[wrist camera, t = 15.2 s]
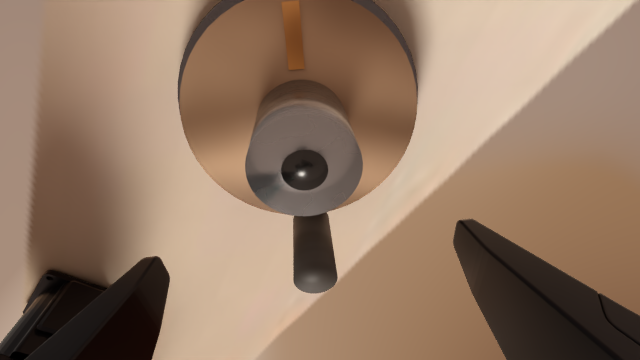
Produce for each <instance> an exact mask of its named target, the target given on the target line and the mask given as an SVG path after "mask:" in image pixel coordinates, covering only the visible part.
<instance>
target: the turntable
mask: <svg viewBox="0 0 640 360" xmlns="http://www.w3.org/2000/svg"><path fill="white" fill-rule="evenodd" d="M300 79H304V80H311V81H315V82H318V83H321V84H323V85H325V86H326V87H328V88H329V89H331V90H332V91H333V92H334V93H335V94H336V95H337V97H338V98H339V99H340V101H341V103H342V105H343V107H344V110H345V112H346V115H347V117H348V120H349V122H350V125H351V127H352V130H353V133H354V135H355V138H356V140H357V143H358V145H359V148H360V150H361V154H362V160H363V171H362V176H361V179H360V182H359V184H358V186H357V188H356V189H355V191H354V192H353V194H352V195H351V196H350V197H349V198H348V199H347V200H346V201H345V202H344V203H342V204H341V205H339V206H338V207H336V208H334V209H332V210H335V209H338V208H341V207H343V206H346V205H348V204H351V203H353V202H355V201H357V200H359V199H360V198H362V197H363V196H365V195H367V194H368V193H370V192H371V191H372V190H374V189H375V188H376V187H377V186H379V185H380V184H381V183H382V182H383V181H384V180H385V179H386V178H387V177H388V176H389V175H390V173H391V172H392V171H393V170H394V168H395V167H396V166H397V164H398V163H399V161H400V160H401V158H402V156H403V155H404V153H405V151H406V149H407V146H408V144H409V142H410V139H411V136H412V133H413V130H414V125H415V120H416V114H417V92H416V84H415V79H414V75H413V71H412V68H411V65H410V63H409V60H408V57H407V55H406V53H405V51H404V50H403V48H402V46H401V44H400V43H399V41H398V40H397V38H396V37H395V36H394V34H393V33H392V32H391V31H390V29H389V28H388V27H387V26H386V25H385V24H384V23H383V22H382V21H381V20H380V19H379V18H378V17H377V16H375V15H374V14H373V13H371V12H370V11H368V10H367V9H365V8H364V7H363V6H361V5H359V4H357V3H355V2H353V1H351V0H244V1H242V2H240V3H238V4H236V5H234V6H233V7H232V8H230V9H229V10H227V11H226V12H224V13H223V14H222V15H220V16H219V17H218V18H217V19H216V20H215V21H214V22H213V23H212V24H211V25H210V26H209V27H208V28H207V29H206V30H205V32H204V33H203V34H202V36H201V37H200V38H199V40H198V41H197V42H196V44H195V46H194V48H193V50H192V52H191V54H190V56H189V58H188V61H187V63H186V66H185V69H184V72H183V77H182V82H181V87H180V113H181V121H182V125H183V129H184V133H185V136H186V138H187V141H188V143H189V146H190V148H191V150H192V152H193V154H194V155H195V157H196V159H197V161H198V162H199V163H200V165H201V166H202V168H203V169H204V170H205V172H206V173H207V174H208V175H209V176H210V177H211V178H212V179H213V180H214V181H215V182H216V183H217V184H218V185H219V186H221V187H222V188H223V189H224V190H225V191H227V192H228V193H230V194H231V195H233V196H234V197H236V198H238V199H240V200H242V201H243V202H245V203H247V204H250V205H252V206H255V207H257V208H260V209H264V210H267V211H271V212H276V213H281V212H278V211H276V210H274V209H272V208H270V207H269V206H267V205H265V204H264V203H263V202H262V201H261V200H260V199H259V198H258V197H257V196H256V195H255V194H254V192H253V191H252V189H251V187H250V186H249V183H248V181H247V178H246V172H245V161H246V155H247V151H248V147H249V144H250V140H251V136H252V132H253V128H254V124H255V121H256V117H257V113H258V109H259V107H260V104H261V102H262V101H263V99H264V97H265V96H266V95H267V94H268V93H269V92H270V91H271V90H272V89H274V88H275V87H277V86H278V85H280V84H282V83H285V82H288V81H291V80H300ZM330 211H331V210H330ZM282 214H284V213H282ZM293 247H294V284H295V286H296V287H297V288H298V289H299V290H301V291H303V292H307V293H321V292H325V291H327V290H329V289H330V288H332V287H333V286H334V285H335V283H336V282H337V271H336V264H335V258H334V251H333V244H332V238H331V231H330V224H329V218H328V214H327V213H326V212H325V213H322V214H318V215H313V216H294V219H293Z"/></svg>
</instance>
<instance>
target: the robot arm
mask: <svg viewBox="0 0 640 360" xmlns="http://www.w3.org/2000/svg"><path fill="white" fill-rule="evenodd" d="M453 244H454V248H455V251H456V253H457V256H458V258H459V261H460V263H461V266H462V268H463V271H464V274H465V276H466V279H467V282H468V284H469V287H470V289H471V291H472V294H473V296H474V298H475V300H476V302H477V303H478V306H479V307H480V309H481V311H482V313H483V315H484V317H485V319H486V321H487V323H488V325H489V327H490V329H491V331H492V332H493V334H494V336H495V338H496V340H497V342H498V344H499V346H500V348H501V350H502V352H503V354H504V355H505V357H506V359H507V360H640V316H639V315H638V314H636V313H634V312H632V311H630V310H629V309H627V308H625V307H623V306H622V305H619V304H618V303H616V302H614V301H613V300H611V299H609V298H608V297H606V296H604V295H602V294H601V293H600V294H598V293H597V291H595V290H594V289H592V288H590V287H589V286H587V285H585V284H583V283H582V282H580V281H578V280H577V279H575V278H573V277H571V276H569V275H568V274H566V273H565V272H563V271H561V270H559V269H558V268H556V267H554V266H552V265H551V264H549V263H547V262H546V261H544V260H542V259H541V258H539V257H537V256H535V255H534V254H532V253H530V252H529V251H527V250H525V249H523V248H522V247H520V246H518V245H516V244H515V243H513V242H511V241H510V240H508V239H506V238H504V237H503V236H501V235H499V234H498V233H496V232H494V231H492V230H491V229H489V228H487V227H486V226H484V225H482V224H480V223H479V222H477V221H475V220H473V219H463V220H459V221H458V222H457V224H456V228H455V234H454V239H453ZM169 282H170V277H169V273H168V271H167V270H166V268H165V266H164V264H163V262H162V260H161V259H160V258H159V257H157V256H154V257H146V258H143V259H142V260H140V261H139V262H138V263H137V264H136V265H135V266H133V267H132V268H131V269H130V270H129V271H128V272H126V273H125V274H124V275H123V276H122V277H121V278H119V279H118V280H117V281H116V282H115V283H114V284H112V285H111V286H110V287H109V288H108V289H104V288H101V287H99V286H96V285H93V284H90V283H87V282H85V281H82V280H79V279H76V278H73V277H70V276H68V275H65V274H62V273H59V272H56V271H53V270H48V271H46V273H45V274H44V275H43V276H42V278H41V280H40V282H39V283H38V285H37V287H36V289H35V291H34V293H33V294H32V296H31V298H30V300H29V302H28V304H27V305H26V307H25V309H24V311H23V316H22V317H21V318H20V319H19V321H18V322H17V323H16V324H15V326H14V327H13V328H12V329H11V331H10V332H9V333H8V334H7V336H6V337H5V338H4V339H3V341H2V342H1V343H0V360H152V356H153V353H154V350H155V347H156V343H157V340H158V336H159V333H160V329H161V324H162V319H163V314H164V309H165V304H166V298H167V293H168V288H169Z"/></svg>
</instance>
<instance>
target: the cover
mask: <svg viewBox="0 0 640 360" xmlns="http://www.w3.org/2000/svg"><path fill="white" fill-rule="evenodd" d="M362 171H363V160H362V154H361V150H360V148H359V145H358V143H357V140H356V138H355V135H354V133H353V130H352V127H351V125H350V122H349V120H348V117H347V115H346V112H345V110H344V107H343V105H342V103H341V101H340V99H339V98H338V97H337V95H336V94H335V93H334V92H333V91H332V90H331V89H329V88H328V87H326V86H325V85H323V84H321V83H318V82H315V81H311V80H304V79H300V80H291V81H288V82H285V83H282V84H280V85H278V86H277V87H275V88H274V89H272V90H271V91H270V92H269V93H268V94H267V95H266V96H265V97H264V99H263V101H262V102H261V104H260V107H259V109H258V113H257V117H256V121H255V124H254V128H253V132H252V136H251V140H250V144H249V147H248V151H247V155H246V161H245V172H246V178H247V181H248V183H249V186H250V187H251V189H252V191H253V192H254V194H255V195H256V196H257V197H258V198H259V199H260V200H261V201H262V202H263V203H264V204H265V205H267V206H269V207H270V208H272V209H274V210H276V211H278V212H281V213H284V214H288V215H293V216H313V215H318V214H322V213H325V212H328V211H330V210H332V209H334V208H336V207H338V206H339V205H341V204H342V203H344V202H345V201H346V200H347V199H348V198H349V197H350V196H351V195H352V194H353V192H354V191H355V189H356V188H357V186H358V184H359V182H360V179H361V176H362Z"/></svg>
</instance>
